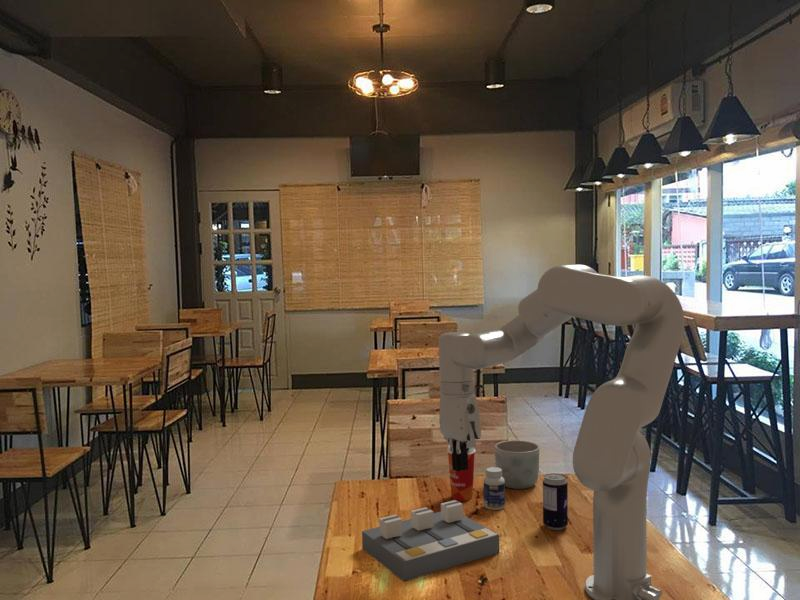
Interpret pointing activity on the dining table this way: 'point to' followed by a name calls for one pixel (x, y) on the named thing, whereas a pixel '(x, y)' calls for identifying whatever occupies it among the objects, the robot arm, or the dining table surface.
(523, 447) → the planter
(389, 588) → the dining table surface
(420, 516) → the slider
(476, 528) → the console
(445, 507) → the slider
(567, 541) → the dining table surface
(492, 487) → the pill bottle
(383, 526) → the slider
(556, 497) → the beverage can
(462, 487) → the paper cup
